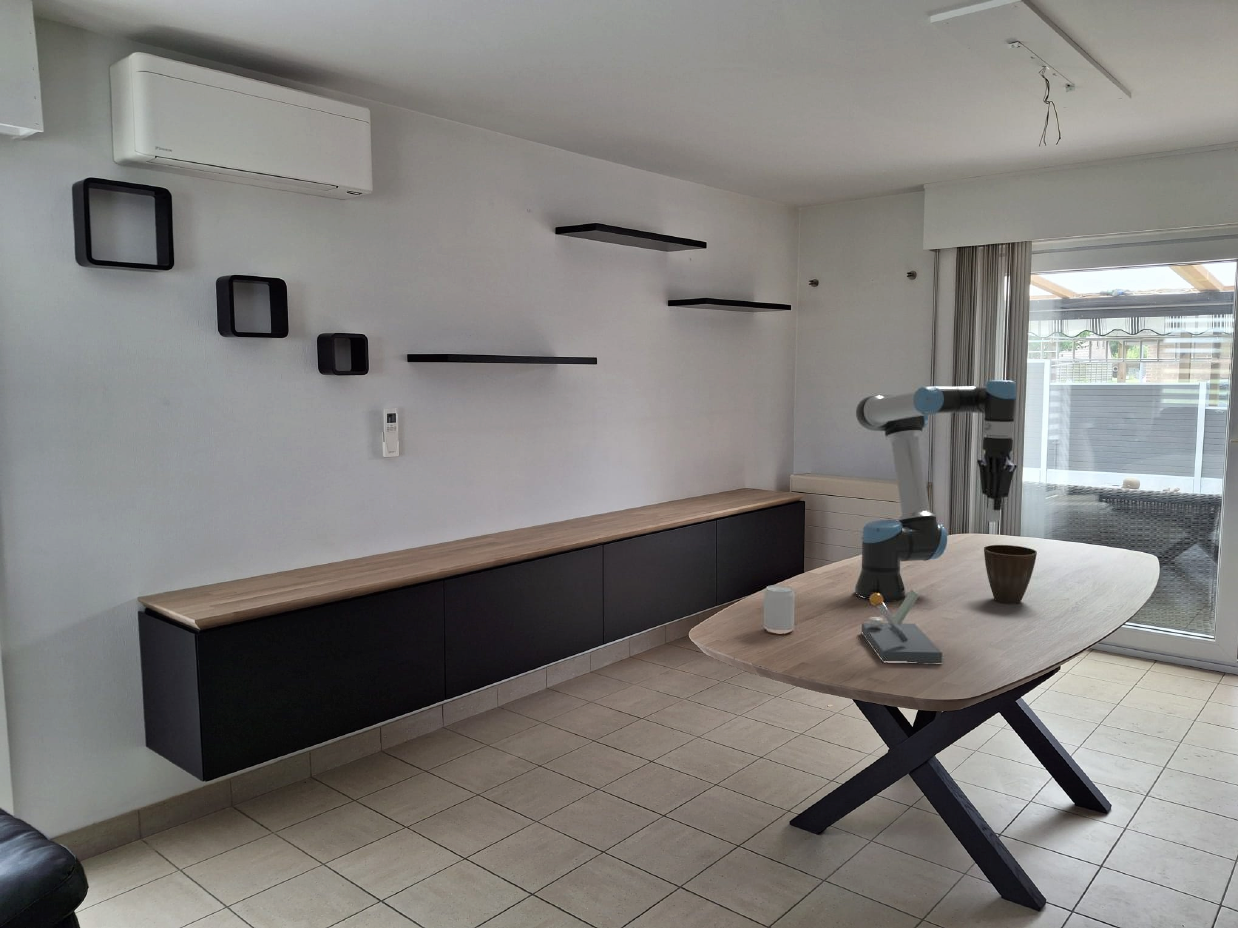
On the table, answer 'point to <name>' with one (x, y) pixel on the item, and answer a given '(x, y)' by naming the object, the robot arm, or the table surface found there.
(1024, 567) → the plant pot
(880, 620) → the white push button
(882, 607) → the steel toggle lever
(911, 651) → the switch panel
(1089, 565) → the table surface
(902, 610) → the sage paddle
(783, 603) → the beverage can
